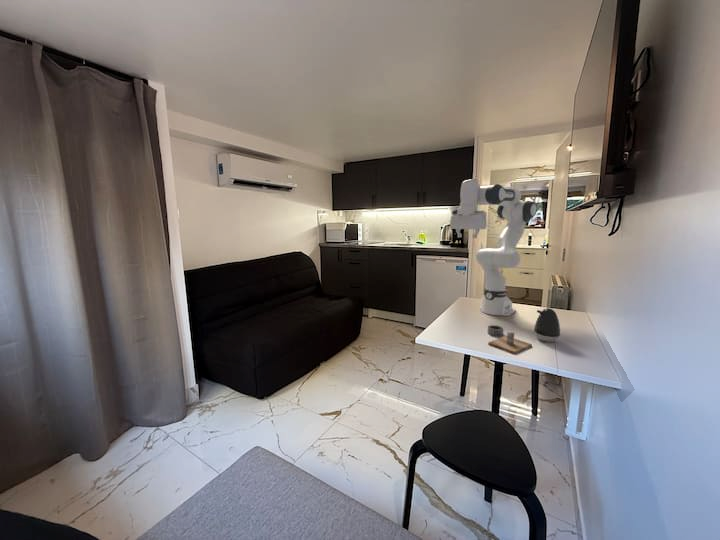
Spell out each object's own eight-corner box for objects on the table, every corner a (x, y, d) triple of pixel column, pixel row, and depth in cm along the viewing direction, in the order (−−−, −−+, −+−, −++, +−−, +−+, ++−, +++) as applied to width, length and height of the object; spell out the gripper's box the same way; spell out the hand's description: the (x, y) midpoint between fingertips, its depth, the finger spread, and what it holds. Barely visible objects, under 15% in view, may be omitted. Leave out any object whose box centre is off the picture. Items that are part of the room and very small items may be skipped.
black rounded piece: (528, 335, 143) (531, 305, 140) (550, 335, 143) (553, 305, 140) (540, 344, 133) (543, 311, 130) (564, 344, 132) (567, 311, 130)
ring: (492, 330, 150) (493, 324, 150) (505, 334, 145) (505, 328, 144) (485, 332, 147) (485, 327, 146) (497, 337, 141) (497, 331, 141)
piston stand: (505, 337, 140) (506, 325, 139) (531, 346, 131) (532, 333, 130) (488, 344, 133) (489, 331, 132) (514, 354, 123) (515, 340, 122)
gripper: (490, 210, 147) (488, 238, 149) (456, 211, 164) (455, 236, 166) (482, 210, 143) (480, 238, 145) (448, 211, 160) (447, 237, 162)
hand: (467, 237), depth 156 cm, fingers open, 8 cm apart
